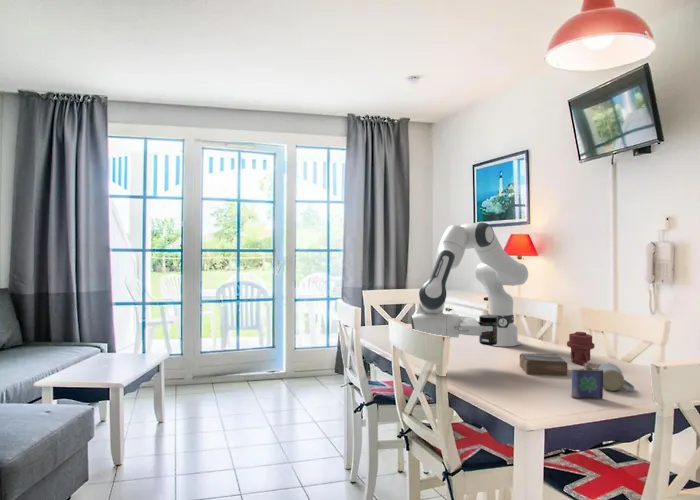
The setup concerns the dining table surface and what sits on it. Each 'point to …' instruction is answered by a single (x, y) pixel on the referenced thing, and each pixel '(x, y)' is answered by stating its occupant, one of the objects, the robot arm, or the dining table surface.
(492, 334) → the supplement container
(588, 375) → the flask
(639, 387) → the dining table surface
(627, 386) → the ceramic mug
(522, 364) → the walnut stand
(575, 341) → the mechanical component
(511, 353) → the dining table surface
